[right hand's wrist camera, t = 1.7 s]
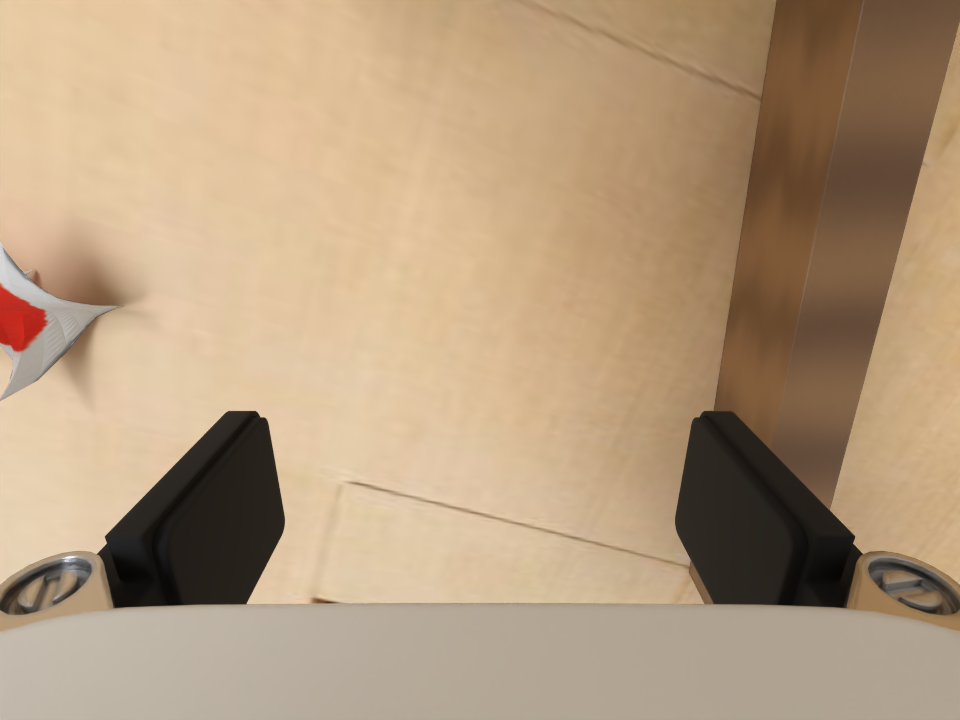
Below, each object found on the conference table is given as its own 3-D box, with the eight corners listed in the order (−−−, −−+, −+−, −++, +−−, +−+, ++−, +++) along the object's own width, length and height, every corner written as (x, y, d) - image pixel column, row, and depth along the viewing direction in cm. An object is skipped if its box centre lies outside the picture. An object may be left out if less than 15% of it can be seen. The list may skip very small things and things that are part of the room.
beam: (876, -652, 22) (1084, -1082, 14) (988, -658, 22) (1258, -1094, 14) (688, 572, 46) (729, 653, 39) (741, 571, 46) (792, 652, 38)
